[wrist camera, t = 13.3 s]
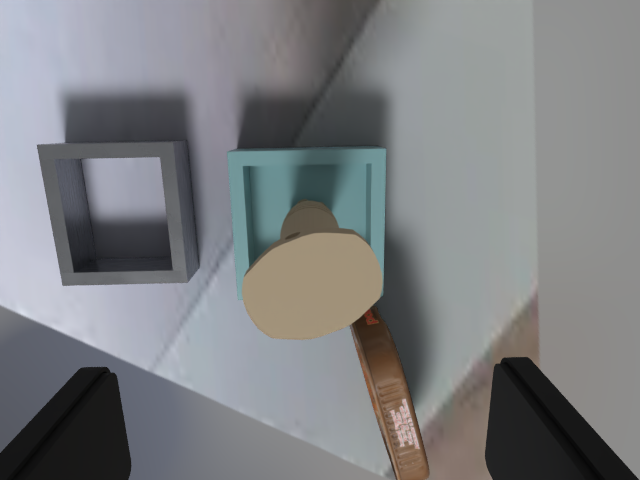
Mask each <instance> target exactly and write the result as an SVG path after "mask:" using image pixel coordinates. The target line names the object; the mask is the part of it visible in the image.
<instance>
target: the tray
mask: <svg viewBox="0 0 640 480" xmlns="http://www.w3.org/2000/svg"><path fill="white" fill-rule="evenodd" d="M227 157H228V171H229V185H230V198H231V212H232V226H233V240H234V253H235V267H236V281H237V295H238V300H243V297H242V284H243V278H244V275H245V273H246V271H247V270H248V268H249V267H250V266H251V265H252V264H253V263H254V262H255V261H256V260H257V258H258V257H259V256H260V255H261V254H262V253H263V252H264V251H265V250H266V249H268V248H269V247H270V246H271V245H272V244H273V243H274V242H276V241H278V240H280V232H281V227H282V224H283V221H284V219H285V217H286V215H287V214H288V212H289V211H290V210H291V209H292V208H293V207H294V206H295V205H297V203H298V201H300V200H302V199H307V200H308V201H311V200H312V201H317V202H323V203H324V204H325V205H326V206H327V208H328V209H329V210H330V211H331V212H332V213H333V215H334V216H335V218H336V220H337V222H338V226H339V228H345V229H353V230H354V231H356V232H357V233H358V234H360V235H361V236H362V237H363V238H364V239H365V240H366V241H367V242H368V244H369V245H370V247H371V248H372V250H373V252H374V254H375V256H376V258H377V260H378V262H379V265H380V269H381V272H382V281H383V279H384V230H385V182H386V148H383V147H380V146H348V147H297V148H247V149H234V150H231V151H228V152H227ZM380 297H383V284H382V291H381V295H380Z"/></svg>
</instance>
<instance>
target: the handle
mask: <svg viewBox="0 0 640 480" xmlns="http://www.w3.org/2000/svg"><path fill="white" fill-rule="evenodd" d="M382 284H383V281H382V272H381V269H380V265H379V262H378V260H377V258H376V256H375V254H374V252H373V250H372V248H371V247H370V245H369V244H368V242H367V241H366V240H365V239H364V238H363V237H362V236H361V235H360V234H358V233H357V232H356V231H354V230H353V229H345V228H339V226H338V222H337V220H336V218H335V216H334V215H333V213H332V212H331V211H330V210H329V209H328V208H327V206H326V205H325V204H324V203H323V202H317V201H312V200H311V201H308V200H307V199H302V200H300V201H298V203H297V205H295V206H294V207H293V208H292V209H291V210H290V211H289V212H288V214H287V215H286V217H285V219H284V221H283V224H282V227H281V232H280V240H278V241H276V242H274V243H273V244H272V245H271V246H270V247H269V248H268V249H266V250H265V251H264V252H263V253H262V254H261V255H260V256H259V257H258V258H257V260H256V261H255V262H254V263H253V264H252V265H251V266H250V267H249V268H248V270H247V271H246V273H245V275H244V278H243V284H242V297H243V302H244V305H245V308H246V310H247V313H248V315H249V316H250V318H251V320H252V321H253V323H254V324H255V325H256V326H257V327H258V329H259V330H261V331H262V332H263V333H264V334H266V335H268V336H269V337H271V338H276V339H294V340H305V339H313V338H317V337H321V336H324V335H326V334H329V333H332V332H335V331H337V330H340V329H342V328H344V327H347V326H349V325H351V324H352V323H353V322H355V321H356V320H357V319H359V318H360V317H361V316H362V315H363V314H364V313H365V312H366V311H367V310H368V309H369V308H370V307H371V306H372V305H373V304H374V303H375V302H376V301H377V300H378V299H379V298H380V295H381V291H382Z"/></svg>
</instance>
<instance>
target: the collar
mask: <svg viewBox="0 0 640 480" xmlns="http://www.w3.org/2000/svg"><path fill="white" fill-rule="evenodd" d="M37 149H38V154H39V159H40V165H41V170H42V176H43V181H44V187H45V192H46V198H47V203H48V208H49V214H50V219H51V225H52V230H53V236H54V241H55V246H56V252H57V257H58V263H59V268H60V274H61V279H62V285H63V286H70V285H112V284H154V283H188V282H189V280H190V279H191V278H192V277H193V275H194V274H195V273H196V271H197V270H198V269H199V260H198V249H197V239H196V228H195V218H194V207H193V197H192V186H191V176H190V166H189V155H188V145H187V140H184V141H133V142H82V143H55V144H41V145H37ZM136 157H160V160H161V169H162V178H163V186H164V195H165V204H166V213H167V222H168V231H169V240H170V249H171V257H155V258H111V259H96V253H95V247H94V240H93V234H92V228H91V222H90V215H89V209H88V203H87V196H86V190H85V184H84V178H83V171H82V165H81V159H86V158H136Z"/></svg>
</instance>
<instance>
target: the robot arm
mask: <svg viewBox="0 0 640 480" xmlns="http://www.w3.org/2000/svg"><path fill="white" fill-rule="evenodd" d="M485 460H486V465H487V468H488V471H489V473H490V475H491V477H492V479H493V480H639V479H638V478H637V477H636V476H635V475H634V474H633V473H632V471H631V470H630V469H629V468H628V467H627V466H626V465H625V464H624V463H623V461H622V460H621V459H620V458H619V457H618V456H617V455H616V454H615V453H614V451H613V450H612V449H611V448H610V447H609V446H608V445H607V444H606V443H605V442H604V440H603V439H602V438H601V437H600V436H599V435H598V434H597V433H596V432H595V430H594V429H593V428H592V427H591V426H590V425H589V424H588V423H587V422H586V421H585V419H584V418H583V417H582V416H581V415H580V414H579V413H578V412H577V410H576V409H575V408H574V407H573V406H572V405H571V404H570V403H569V402H568V400H567V399H566V398H565V397H564V396H563V395H562V394H561V393H560V392H559V390H558V389H557V388H556V387H555V386H554V385H553V384H552V383H551V382H550V380H549V379H548V378H547V377H546V376H545V375H544V374H543V373H542V372H541V370H540V369H539V368H538V367H537V366H536V365H535V364H534V363H533V362H532V360H531V359H529V358H528V357H511V358H503V359H502V361H501V363H500V364H496V365H495V366H494V372H493V381H492V391H491V401H490V411H489V420H488V430H487V440H486V449H485ZM130 472H131V458H130V452H129V446H128V440H127V434H126V428H125V422H124V416H123V410H122V404H121V398H120V392H119V386H118V380H117V376H116V374H115V373H110V370H109V369H108V368H107V367H84V368H80V369H79V370H78V371H77V372H76V373H75V374H74V375H73V376H72V378H70V379H69V381H68V382H67V383H66V384H65V385H64V386H63V387H62V388H61V389H60V390H59V391H58V392H57V393H56V394H55V395H54V397H53V398H52V399H51V400H50V401H49V402H48V403H47V404H46V405H45V406H44V407H43V408H42V409H41V410H40V412H38V414H37V415H36V416H35V417H34V418H33V419H32V420H31V421H30V422H29V423H28V424H27V425H26V426H25V428H23V429H22V430H21V432H20V433H19V434H18V435H17V436H16V437H15V438H14V439H13V440H12V441H11V442H10V443H9V444H8V445H7V446H6V447H5V449H4V450H3V451H2V452H1V453H0V480H128V478H129V476H130Z"/></svg>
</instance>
